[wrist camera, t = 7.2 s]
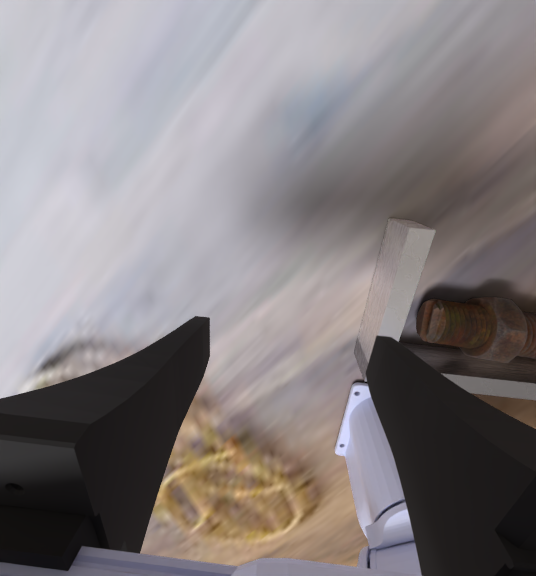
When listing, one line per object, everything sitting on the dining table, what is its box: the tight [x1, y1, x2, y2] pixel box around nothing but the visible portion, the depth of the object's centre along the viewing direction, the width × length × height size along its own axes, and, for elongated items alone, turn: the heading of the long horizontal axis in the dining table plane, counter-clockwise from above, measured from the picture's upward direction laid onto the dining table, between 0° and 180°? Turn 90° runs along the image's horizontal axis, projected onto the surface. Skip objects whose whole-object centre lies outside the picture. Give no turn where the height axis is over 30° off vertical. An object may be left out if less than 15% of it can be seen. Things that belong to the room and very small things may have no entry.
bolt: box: [416, 297, 536, 363], centre depth 19 cm, size 6×5×15 cm
